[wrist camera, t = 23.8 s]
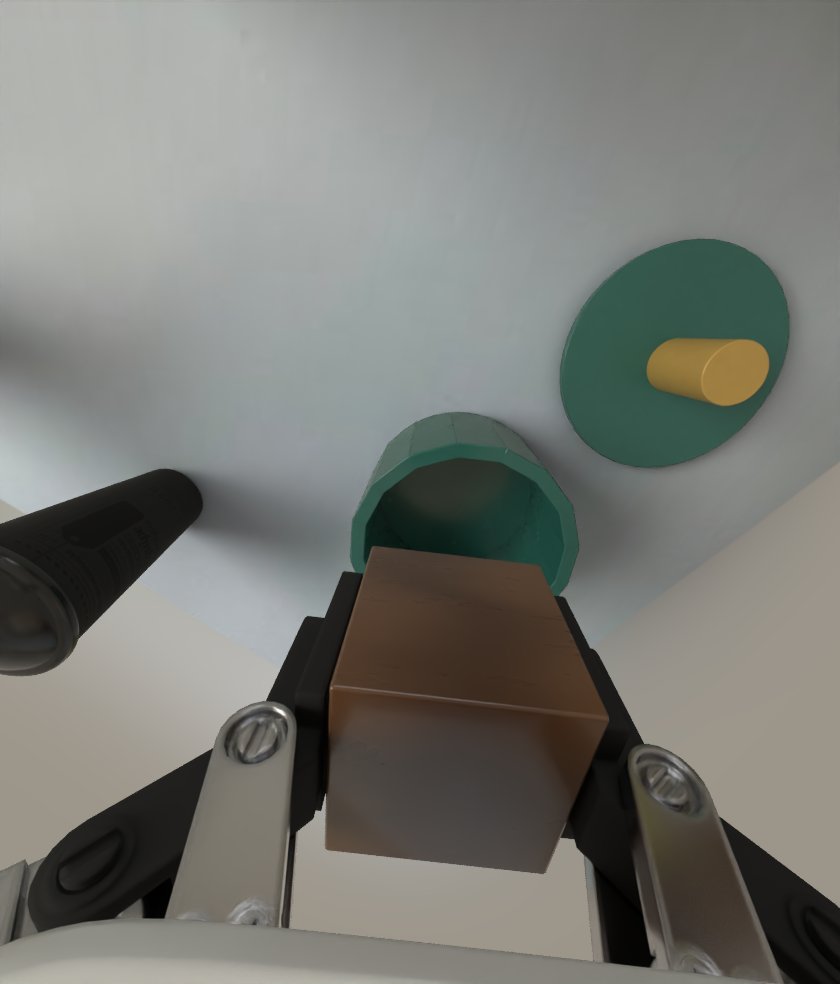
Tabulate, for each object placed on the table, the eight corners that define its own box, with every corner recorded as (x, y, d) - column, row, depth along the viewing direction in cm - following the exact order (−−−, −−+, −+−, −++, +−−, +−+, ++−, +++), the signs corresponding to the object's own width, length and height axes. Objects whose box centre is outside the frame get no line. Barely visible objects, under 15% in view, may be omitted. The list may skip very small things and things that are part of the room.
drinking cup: (110, 448, 29) (-464, 654, 10) (211, 452, 29) (-189, 669, 10) (135, 538, 32) (-277, 822, 13) (227, 542, 32) (-61, 835, 13)
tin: (367, 556, 32) (346, 629, 24) (378, 402, 27) (356, 430, 19) (519, 573, 32) (547, 651, 24) (556, 423, 27) (607, 460, 19)
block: (362, 671, 12) (323, 851, 8) (372, 544, 10) (327, 687, 6) (507, 687, 12) (546, 876, 8) (540, 563, 10) (612, 719, 6)
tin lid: (536, 450, 28) (565, 484, 22) (588, 229, 23) (646, 191, 17) (721, 472, 28) (802, 511, 22) (815, 257, 23) (956, 229, 17)
